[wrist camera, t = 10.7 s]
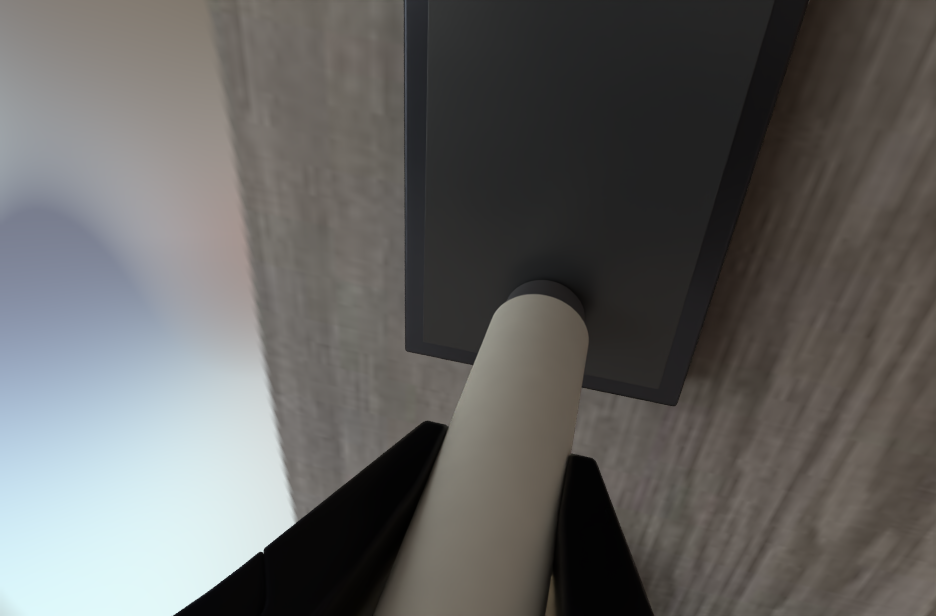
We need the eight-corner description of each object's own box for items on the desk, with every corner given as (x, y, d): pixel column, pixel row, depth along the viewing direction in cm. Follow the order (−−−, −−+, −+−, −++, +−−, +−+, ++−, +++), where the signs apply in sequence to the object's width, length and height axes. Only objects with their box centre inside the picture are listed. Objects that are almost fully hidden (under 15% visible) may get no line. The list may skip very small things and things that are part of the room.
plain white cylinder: (604, 341, 13) (513, 1087, 5) (518, 357, 14) (316, 1013, 6) (574, 262, 12) (399, 1006, 4) (484, 285, 13) (188, 935, 5)
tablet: (424, -342, 9) (397, -373, 8) (905, -349, 8) (939, -387, 7) (417, 329, 15) (402, 354, 14) (675, 380, 14) (676, 411, 13)
